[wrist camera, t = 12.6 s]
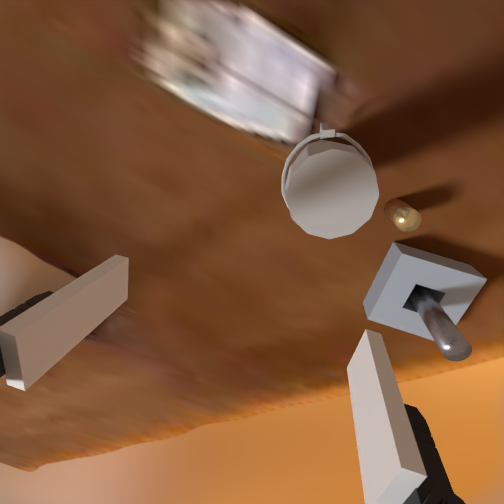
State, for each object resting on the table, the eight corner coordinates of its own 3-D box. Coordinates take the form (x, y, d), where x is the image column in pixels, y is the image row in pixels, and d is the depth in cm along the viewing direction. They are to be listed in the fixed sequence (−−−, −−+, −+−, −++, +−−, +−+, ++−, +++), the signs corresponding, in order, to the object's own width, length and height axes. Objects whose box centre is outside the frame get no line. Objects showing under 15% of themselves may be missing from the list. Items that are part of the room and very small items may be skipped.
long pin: (408, 274, 47) (450, 336, 33) (426, 280, 47) (477, 345, 32) (399, 289, 48) (437, 356, 34) (417, 295, 48) (462, 364, 34)
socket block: (393, 241, 46) (402, 253, 41) (469, 264, 45) (487, 279, 40) (362, 302, 51) (367, 319, 46) (431, 324, 50) (442, 343, 45)
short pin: (389, 196, 43) (402, 206, 37) (409, 201, 43) (425, 213, 37) (380, 214, 44) (392, 228, 38) (400, 220, 44) (414, 234, 38)
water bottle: (346, 188, 44) (382, 245, 21) (294, 189, 46) (276, 244, 23) (350, 122, 41) (398, 107, 18) (294, 126, 42) (273, 117, 20)
